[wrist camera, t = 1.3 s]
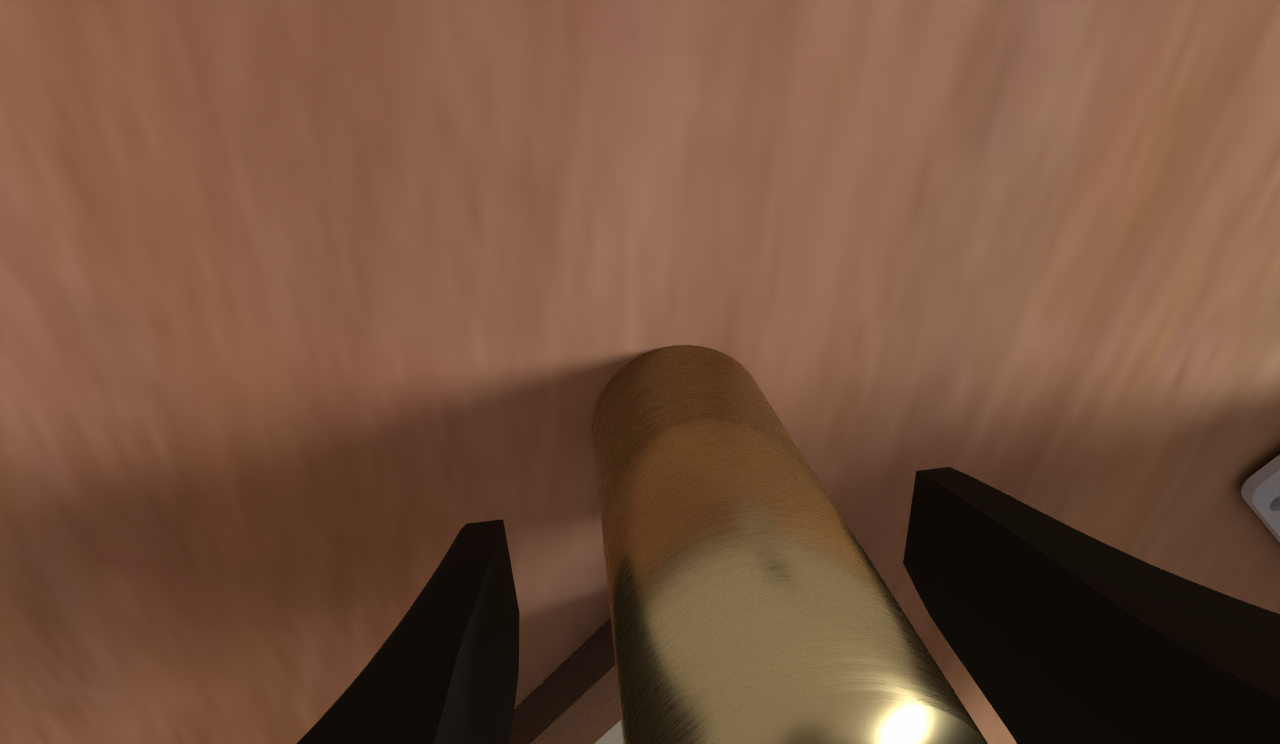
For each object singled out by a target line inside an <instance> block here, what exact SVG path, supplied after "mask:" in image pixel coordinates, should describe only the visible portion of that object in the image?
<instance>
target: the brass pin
mask: <svg viewBox="0 0 1280 744" xmlns="http://www.w3.org/2000/svg"><path fill="white" fill-rule="evenodd" d="M593 442H594V452H595V462H596V472H597V483H598V493H599V503H600V513H601V523H602V533H603V543H604V553H605V564H606V574H607V584H608V594H609V604H610V614H611V624H612V634H613V645H614V655H615V665H616V675H617V685H618V695H619V705H620V715H621V725H622V736H623V744H988V743H987V742H986V740H985V738H984V737H983V735H982V734H981V732H980V731H979V729H978V728H977V726H976V724H975V723H974V721H973V720H972V718H971V717H970V715H969V714H968V712H967V710H966V709H965V707H964V706H963V704H962V703H961V701H960V700H959V698H958V696H957V695H956V693H955V692H954V690H953V689H952V687H951V685H950V684H949V682H948V681H947V679H946V678H945V676H944V675H943V673H942V671H941V670H940V668H939V667H938V665H937V664H936V662H935V661H934V659H933V657H932V656H931V654H930V653H929V651H928V650H927V648H926V647H925V645H924V643H923V642H922V640H921V639H920V637H919V636H918V634H917V633H916V631H915V629H914V628H913V626H912V625H911V623H910V622H909V620H908V619H907V617H906V615H905V614H904V612H903V611H902V609H901V608H900V606H899V604H898V603H897V601H896V600H895V598H894V597H893V595H892V594H891V592H890V590H889V589H888V587H887V586H886V584H885V583H884V581H883V580H882V578H881V576H880V575H879V573H878V572H877V570H876V569H875V567H874V566H873V564H872V562H871V561H870V559H869V558H868V556H867V555H866V553H865V552H864V550H863V548H862V547H861V545H860V544H859V542H858V541H857V539H856V538H855V536H854V534H853V533H852V531H851V530H850V528H849V527H848V525H847V523H846V522H845V520H844V519H843V517H842V516H841V514H840V513H839V511H838V509H837V508H836V506H835V505H834V503H833V502H832V500H831V499H830V497H829V495H828V494H827V492H826V491H825V489H824V488H823V486H822V485H821V483H820V481H819V480H818V478H817V477H816V475H815V474H814V472H813V471H812V469H811V467H810V466H809V464H808V463H807V461H806V460H805V458H804V456H803V455H802V453H801V452H800V450H799V449H798V447H797V446H796V444H795V442H794V441H793V439H792V438H791V436H790V435H789V433H788V432H787V430H786V428H785V427H784V425H783V424H782V422H781V421H780V419H779V418H778V416H777V414H776V413H775V411H774V410H773V408H772V407H771V405H770V404H769V402H768V400H767V399H766V397H765V396H764V394H763V393H762V391H761V390H760V388H759V386H758V385H757V383H756V382H755V380H754V379H753V377H752V376H751V375H750V373H749V372H748V371H747V370H746V369H745V368H744V367H743V366H742V365H741V364H740V363H738V362H737V361H736V360H734V359H733V358H731V357H729V356H727V355H726V354H724V353H722V352H719V351H716V350H713V349H710V348H705V347H701V346H691V345H683V346H672V347H665V348H662V349H658V350H655V351H652V352H649V353H647V354H645V355H642V356H641V357H639V358H637V359H635V360H633V361H632V362H630V363H629V364H628V365H626V366H625V367H624V368H622V369H621V370H620V371H619V372H618V373H617V374H616V375H615V376H614V377H613V378H612V380H611V381H610V382H609V383H608V384H607V386H606V387H605V389H604V391H603V392H602V394H601V396H600V398H599V401H598V403H597V405H596V409H595V413H594V418H593Z"/></svg>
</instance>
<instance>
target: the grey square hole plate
mask: <svg viewBox="0 0 1280 744" xmlns="http://www.w3.org/2000/svg"><path fill="white" fill-rule="evenodd" d="M530 744H623V736H622V725H621V715H620V705H619V695H618V685H617V675H616V665H615V666H614V667H613V668H611V669H610V670H609V671H608V672H607V673H606V674H605V675H604V676H603V677H602V678H601V679H600V680H599V681H597V682H596V683H595V684H594V685H593V686H592V687H591V688H590V689H589V690H588V691H587V692H586V693H584V694H583V695H582V696H581V697H580V698H579V699H578V700H577V701H576V702H575V703H574V704H573V705H571V706H570V707H569V708H568V709H567V710H566V711H565V712H564V713H563V714H562V715H561V716H560V717H558V718H557V719H556V720H555V721H554V722H553V723H552V724H551V725H550V726H549V727H548V728H547V729H545V730H544V731H543V732H542V733H541V734H540V735H539V736H538V737H537V738H536V739H535V740H534V741H532V742H531V743H530Z"/></svg>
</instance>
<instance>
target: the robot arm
mask: <svg viewBox="0 0 1280 744" xmlns="http://www.w3.org/2000/svg"><path fill="white" fill-rule="evenodd" d="M1241 495H1242V497H1243V499H1244V500H1245V501H1246V503H1247V504H1248V505H1249V506H1250V508H1251V509H1252V510H1253V511H1254V512H1255V514H1256V515H1257V516H1258V517H1259V518H1260V520H1261V521H1262V522H1263V523H1264V524H1265V526H1266V527H1267V528H1268V529H1269V530H1270V532H1271V533H1272V534H1273V535H1274V536H1275V538H1276V539H1277V540H1278V541H1279V543H1280V454H1279V455H1278V456H1277V457H1275V458H1274V459H1273V460H1271V461H1270V462H1269V463H1267V464H1266V465H1265V466H1263V467H1262V468H1261V469H1259V470H1258V471H1257V472H1255V473H1254V474H1253V475H1252V476H1250V477H1249V478H1248V479H1247V480H1246V481H1245V483H1244V484H1243V486H1242V490H1241ZM903 563H904V565H905V568H906V570H907V572H908V574H909V576H910V578H911V580H912V582H913V584H914V586H915V588H916V590H917V592H918V594H919V596H920V598H921V600H922V602H923V603H924V605H925V607H926V609H927V611H928V613H929V615H930V616H931V618H932V619H933V621H934V622H935V624H936V625H937V627H938V628H939V630H940V631H941V633H942V634H943V636H944V637H945V639H946V640H947V642H948V643H949V645H950V646H951V648H952V649H953V650H954V652H955V653H956V655H957V656H958V658H959V659H960V661H961V662H962V664H963V665H964V666H965V668H966V669H967V671H968V672H969V674H970V675H971V677H972V678H973V679H974V681H975V682H976V684H977V685H978V687H979V688H980V690H981V691H982V692H983V694H984V695H985V697H986V698H987V700H988V701H989V703H990V704H991V705H992V707H993V708H994V710H995V711H996V713H997V714H998V716H999V717H1000V718H1001V720H1002V721H1003V723H1004V724H1005V726H1006V727H1007V729H1008V730H1009V732H1010V733H1011V735H1012V736H1013V738H1014V739H1015V741H1016V742H1017V744H1280V614H1278V613H1274V612H1271V611H1269V610H1266V609H1263V608H1260V607H1257V606H1255V605H1252V604H1249V603H1246V602H1243V601H1241V600H1238V599H1235V598H1233V597H1230V596H1227V595H1225V594H1222V593H1220V592H1217V591H1215V590H1212V589H1210V588H1207V587H1204V586H1202V585H1199V584H1197V583H1194V582H1192V581H1189V580H1186V579H1184V578H1181V577H1179V576H1177V575H1174V574H1172V573H1169V572H1167V571H1165V570H1162V569H1160V568H1158V567H1155V566H1153V565H1151V564H1148V563H1146V562H1144V561H1142V560H1140V559H1137V558H1135V557H1133V556H1131V555H1129V554H1126V553H1124V552H1122V551H1120V550H1118V549H1115V548H1113V547H1111V546H1109V545H1107V544H1105V543H1102V542H1100V541H1098V540H1096V539H1094V538H1092V537H1090V536H1088V535H1086V534H1084V533H1082V532H1080V531H1078V530H1076V529H1074V528H1072V527H1070V526H1067V525H1065V524H1063V523H1062V522H1060V521H1058V520H1056V519H1054V518H1052V517H1050V516H1048V515H1046V514H1044V513H1042V512H1040V511H1038V510H1036V509H1034V508H1032V507H1030V506H1028V505H1026V504H1024V503H1022V502H1020V501H1018V500H1016V499H1014V498H1013V497H1011V496H1009V495H1007V494H1005V493H1003V492H1001V491H999V490H997V489H995V488H993V487H991V486H989V485H987V484H985V483H983V482H981V481H979V480H977V479H975V478H973V477H971V476H969V475H966V474H964V473H962V472H960V471H957V470H955V469H953V468H950V467H947V468H938V469H930V470H921V471H916V477H915V484H914V491H913V498H912V505H911V512H910V519H909V526H908V533H907V540H906V547H905V554H904V561H903ZM518 672H519V608H518V602H517V597H516V591H515V585H514V579H513V574H512V568H511V562H510V556H509V551H508V545H507V539H506V534H505V528H504V522H503V520H494V521H486V522H477V523H469V524H466V525H465V526H464V527H463V528H462V529H461V530H460V532H459V533H458V535H457V537H456V538H455V540H454V542H453V543H452V545H451V547H450V548H449V550H448V552H447V553H446V555H445V557H444V558H443V560H442V561H441V563H440V564H439V566H438V568H437V569H436V571H435V572H434V574H433V575H432V577H431V578H430V580H429V581H428V583H427V585H426V586H425V587H424V589H423V590H422V592H421V593H420V595H419V596H418V598H417V599H416V600H415V602H414V603H413V605H412V606H411V608H410V609H409V611H408V612H407V613H406V615H405V616H404V618H403V619H402V620H401V622H400V623H399V625H398V626H397V627H396V629H395V630H394V631H393V632H392V634H391V635H390V636H389V638H388V639H387V640H386V641H385V643H384V644H383V645H382V647H381V648H380V649H379V651H378V652H377V653H376V654H375V656H374V657H373V658H372V660H371V661H370V662H369V663H368V665H367V666H366V667H365V668H364V670H363V671H362V672H361V673H360V674H359V676H358V677H357V678H356V679H355V680H354V682H353V683H352V684H351V685H350V686H349V687H348V689H347V690H346V691H345V692H344V693H343V694H342V696H341V697H340V698H339V699H338V700H337V701H336V702H335V703H334V704H333V706H332V707H331V708H330V709H329V710H328V711H327V712H326V713H325V714H324V715H323V717H322V718H321V719H320V720H319V721H318V722H317V723H316V724H315V725H314V726H313V727H312V728H311V729H310V730H309V731H308V732H307V733H306V735H305V736H304V737H303V738H302V739H301V740H300V741H299V742H298V743H297V744H510V737H511V729H512V721H513V713H514V705H515V697H516V689H517V680H518Z"/></svg>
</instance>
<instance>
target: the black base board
mask: <svg viewBox="0 0 1280 744" xmlns="http://www.w3.org/2000/svg"><path fill="white" fill-rule="evenodd" d="M614 666H615V655H614V645H613V634H612V624H611V619H610V620H609V621H608V622H607V623H606V624H604V625H603V626H602V627H601V628H600V629H599V630H598V631H597V632H596V633H595V634H594V635H593V636H592V637H591V638H590V639H589V640H588V641H587V642H586V643H585V644H583V645H582V646H581V647H580V648H579V649H578V650H577V651H576V652H575V653H574V654H573V655H572V656H571V657H570V658H569V659H568V660H567V661H566V662H565V663H564V664H562V665H561V666H560V667H559V668H558V669H557V670H556V671H555V672H554V673H553V674H552V675H551V676H550V677H549V678H548V679H547V680H546V681H545V682H544V683H542V684H541V685H540V686H539V687H538V688H537V689H536V690H535V691H534V692H533V693H532V694H531V695H530V696H529V697H528V698H527V699H526V700H525V701H524V702H523V703H521V704H520V705H519V706H518V707H517V708H516V709H515V710H514V713H513V721H512V729H511V737H510V744H530V743H531V742H532V741H534V740H535V739H536V738H537V737H538V736H539V735H540V734H541V733H542V732H543V731H544V730H545V729H547V728H548V727H549V726H550V725H551V724H552V723H553V722H554V721H555V720H556V719H557V718H558V717H560V716H561V715H562V714H563V713H564V712H565V711H566V710H567V709H568V708H569V707H570V706H571V705H573V704H574V703H575V702H576V701H577V700H578V699H579V698H580V697H581V696H582V695H583V694H584V693H586V692H587V691H588V690H589V689H590V688H591V687H592V686H593V685H594V684H595V683H596V682H597V681H599V680H600V679H601V678H602V677H603V676H604V675H605V674H606V673H607V672H608V671H609V670H610V669H611V668H613V667H614Z"/></svg>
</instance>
